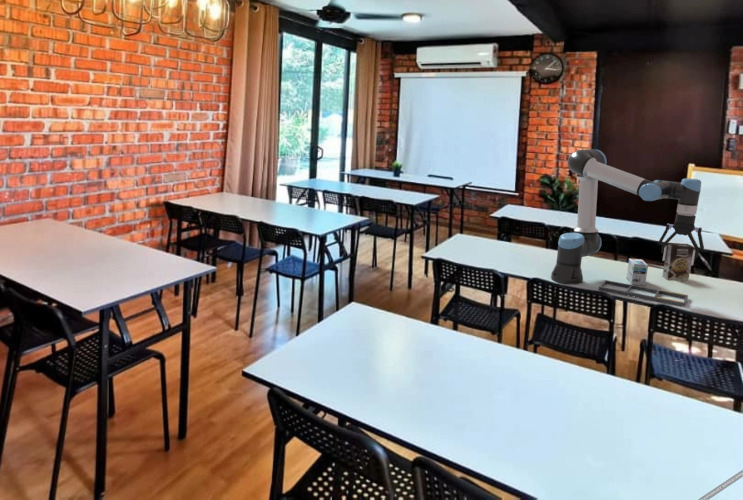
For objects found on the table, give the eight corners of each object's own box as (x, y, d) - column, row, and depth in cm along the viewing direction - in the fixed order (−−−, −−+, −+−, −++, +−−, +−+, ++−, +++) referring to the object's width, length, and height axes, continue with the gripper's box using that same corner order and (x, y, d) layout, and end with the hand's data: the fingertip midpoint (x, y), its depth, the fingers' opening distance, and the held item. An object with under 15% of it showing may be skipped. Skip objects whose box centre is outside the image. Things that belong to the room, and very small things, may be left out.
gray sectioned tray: (598, 290, 254) (599, 286, 254) (604, 283, 265) (605, 279, 264) (684, 306, 235) (685, 303, 234) (687, 298, 245) (688, 294, 245)
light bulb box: (645, 285, 262) (648, 264, 260) (630, 284, 264) (634, 263, 261) (639, 279, 273) (642, 259, 270) (625, 278, 274) (628, 258, 271)
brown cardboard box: (667, 280, 238) (672, 246, 234) (661, 276, 244) (666, 242, 240) (689, 281, 237) (694, 246, 233) (683, 277, 243) (688, 243, 239)
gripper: (655, 212, 236) (648, 259, 242) (716, 218, 224) (707, 268, 229) (657, 209, 242) (650, 256, 248) (717, 216, 230) (708, 264, 235)
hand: (677, 262), depth 239 cm, fingers closed on brown cardboard box, 10 cm apart
